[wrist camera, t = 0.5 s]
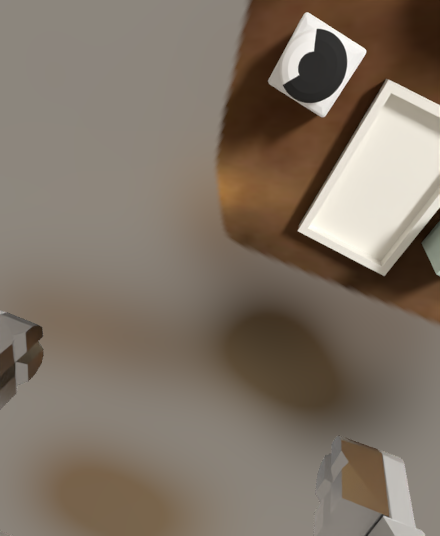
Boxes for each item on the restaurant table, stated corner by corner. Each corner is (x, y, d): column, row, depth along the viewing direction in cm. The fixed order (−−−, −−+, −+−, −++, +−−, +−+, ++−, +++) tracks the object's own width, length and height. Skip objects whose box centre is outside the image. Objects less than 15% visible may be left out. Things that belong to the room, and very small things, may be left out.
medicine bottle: (363, 52, 43) (372, 48, 33) (325, 112, 47) (321, 125, 36) (309, 18, 43) (301, 3, 33) (275, 80, 47) (258, 84, 36)
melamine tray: (386, 79, 44) (388, 79, 41) (490, 131, 43) (498, 134, 41) (299, 224, 54) (297, 231, 52) (382, 267, 54) (384, 276, 51)
